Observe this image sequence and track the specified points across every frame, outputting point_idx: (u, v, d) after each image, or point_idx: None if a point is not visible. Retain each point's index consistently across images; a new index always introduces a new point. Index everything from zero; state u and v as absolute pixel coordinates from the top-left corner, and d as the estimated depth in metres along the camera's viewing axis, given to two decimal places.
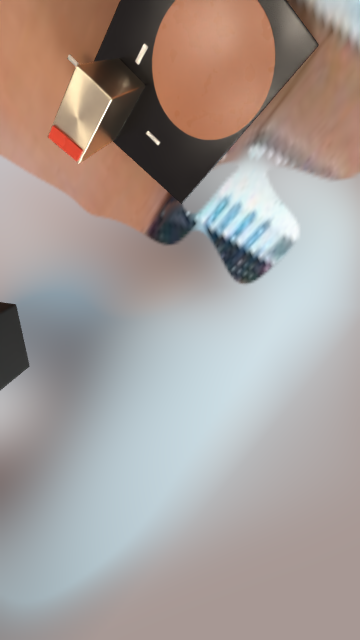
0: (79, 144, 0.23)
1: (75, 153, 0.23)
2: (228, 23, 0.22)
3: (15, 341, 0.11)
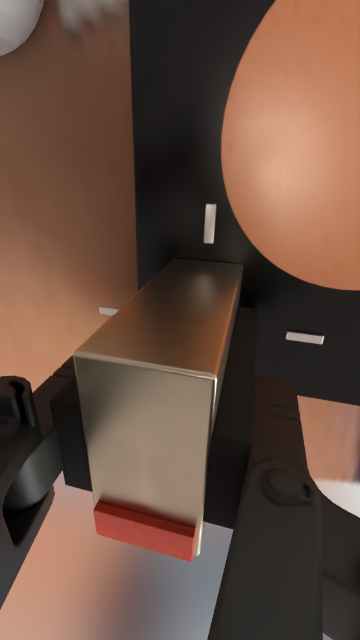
0: (177, 518, 0.07)
1: (178, 547, 0.07)
2: None
3: None
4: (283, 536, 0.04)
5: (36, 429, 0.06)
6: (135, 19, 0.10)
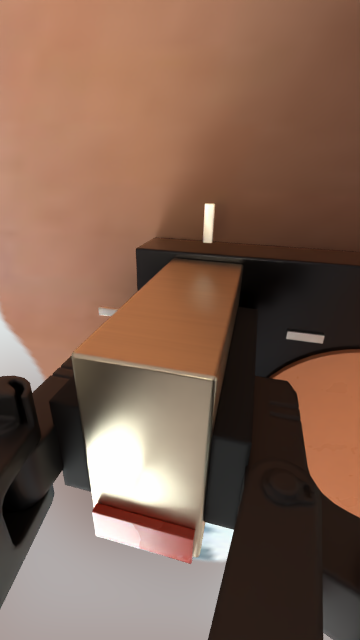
0: (176, 520, 0.07)
1: (178, 549, 0.07)
2: None
3: None
4: (284, 536, 0.04)
5: (36, 429, 0.06)
6: None
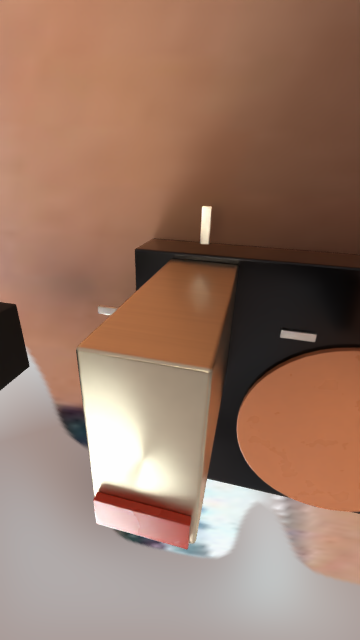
0: (174, 507, 0.08)
1: (175, 535, 0.08)
2: None
3: (15, 341, 0.11)
4: None
5: None
6: None
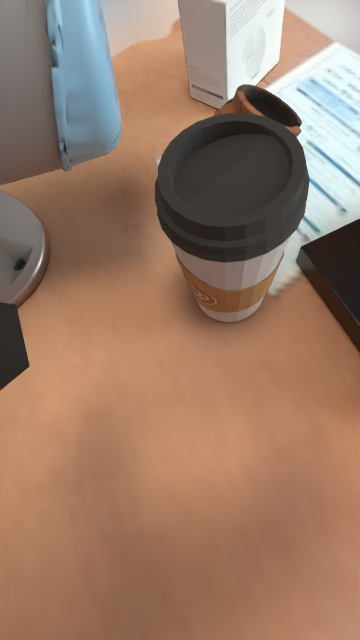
0: None
1: None
2: None
3: (15, 341, 0.11)
4: None
5: None
6: (322, 271, 0.26)
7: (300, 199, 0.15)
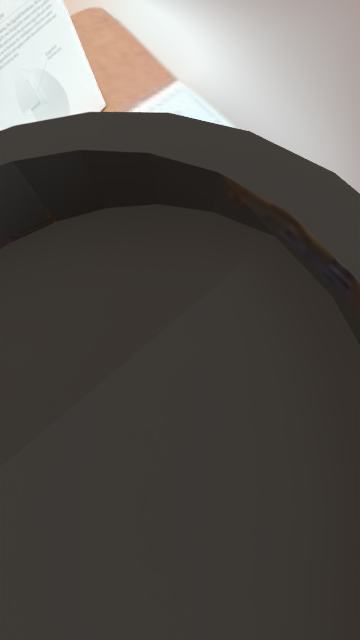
0: None
1: None
2: None
3: None
4: None
5: None
6: None
7: None
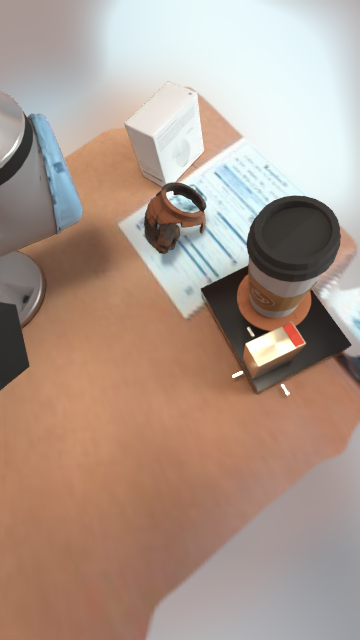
0: (283, 331, 0.32)
1: (289, 326, 0.32)
2: None
3: (15, 341, 0.11)
4: None
5: None
6: (211, 304, 0.43)
7: (336, 247, 0.27)
